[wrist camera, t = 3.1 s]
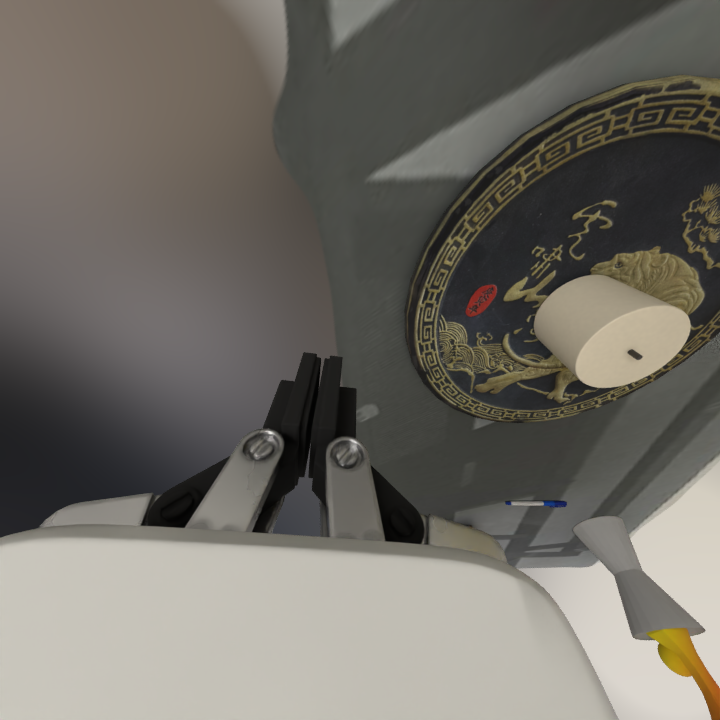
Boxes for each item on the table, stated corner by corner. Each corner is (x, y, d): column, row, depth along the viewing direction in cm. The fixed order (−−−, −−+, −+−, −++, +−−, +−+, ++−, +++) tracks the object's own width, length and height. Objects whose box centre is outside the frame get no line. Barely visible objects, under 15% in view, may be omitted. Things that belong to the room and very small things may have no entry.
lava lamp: (584, 515, 50) (876, 973, 22) (633, 515, 50) (994, 977, 21) (564, 536, 55) (778, 925, 27) (609, 535, 55) (872, 928, 27)
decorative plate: (344, 355, 27) (699, -123, 12) (345, 345, 28) (659, -90, 13) (536, 452, 36) (865, 260, 21) (528, 441, 38) (831, 253, 23)
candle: (562, 268, 22) (631, 303, 16) (640, 281, 22) (733, 319, 17) (519, 341, 26) (562, 389, 20) (586, 350, 26) (646, 400, 21)
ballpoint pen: (566, 499, 47) (569, 505, 46) (564, 502, 47) (567, 508, 47) (505, 500, 47) (507, 506, 46) (503, 502, 48) (506, 508, 47)
